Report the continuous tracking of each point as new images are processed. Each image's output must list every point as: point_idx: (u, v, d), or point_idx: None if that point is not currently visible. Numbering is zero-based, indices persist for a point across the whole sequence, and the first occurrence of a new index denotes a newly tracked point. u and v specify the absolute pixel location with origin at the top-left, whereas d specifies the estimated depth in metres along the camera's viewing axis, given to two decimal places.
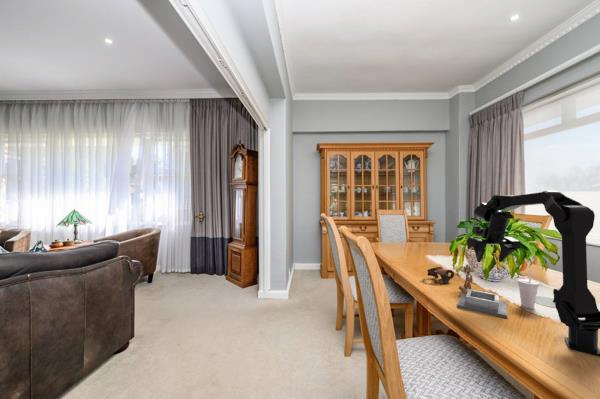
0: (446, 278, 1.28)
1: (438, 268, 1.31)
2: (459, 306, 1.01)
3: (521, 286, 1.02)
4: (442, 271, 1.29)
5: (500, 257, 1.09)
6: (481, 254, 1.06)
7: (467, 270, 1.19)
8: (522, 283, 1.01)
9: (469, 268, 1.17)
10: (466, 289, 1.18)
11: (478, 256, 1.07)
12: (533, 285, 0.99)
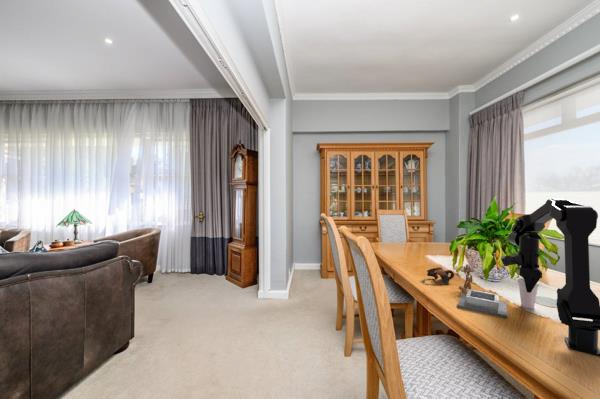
0: (446, 278, 1.28)
1: (438, 268, 1.30)
2: (459, 306, 1.01)
3: (521, 286, 1.02)
4: (442, 271, 1.29)
5: None
6: (536, 282, 0.97)
7: (467, 270, 1.19)
8: (522, 283, 1.01)
9: (469, 268, 1.17)
10: (466, 289, 1.18)
11: (531, 286, 0.98)
12: None
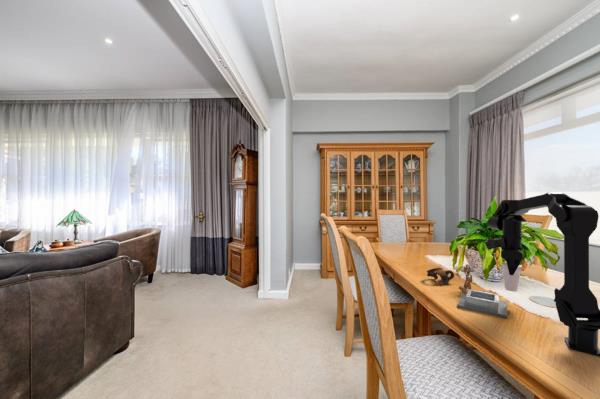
0: (446, 279, 1.27)
1: (438, 269, 1.30)
2: (459, 306, 1.01)
3: (504, 269, 1.02)
4: (442, 272, 1.28)
5: None
6: (518, 264, 0.97)
7: (467, 270, 1.19)
8: (505, 266, 1.01)
9: (469, 268, 1.17)
10: (466, 289, 1.18)
11: (513, 268, 0.99)
12: None
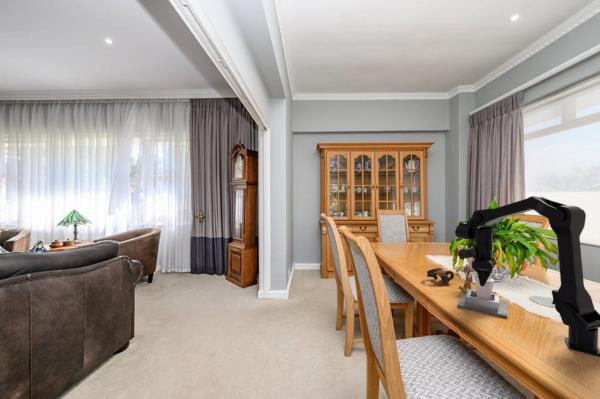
0: (446, 279, 1.26)
1: (438, 269, 1.29)
2: (459, 306, 1.01)
3: (477, 283, 1.02)
4: (442, 272, 1.28)
5: None
6: None
7: (467, 270, 1.19)
8: (478, 280, 1.01)
9: (469, 268, 1.17)
10: (466, 289, 1.18)
11: (484, 279, 0.98)
12: (488, 282, 0.99)
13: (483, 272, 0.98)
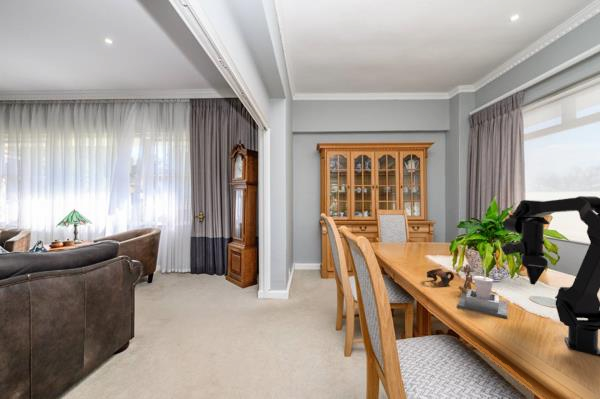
0: (446, 280, 1.25)
1: (438, 270, 1.28)
2: (459, 306, 1.01)
3: (476, 283, 1.02)
4: (442, 273, 1.26)
5: None
6: (541, 273, 0.87)
7: (467, 270, 1.19)
8: (477, 280, 1.02)
9: (469, 268, 1.17)
10: (466, 289, 1.18)
11: (535, 277, 0.88)
12: (487, 282, 0.99)
13: (534, 269, 0.88)
